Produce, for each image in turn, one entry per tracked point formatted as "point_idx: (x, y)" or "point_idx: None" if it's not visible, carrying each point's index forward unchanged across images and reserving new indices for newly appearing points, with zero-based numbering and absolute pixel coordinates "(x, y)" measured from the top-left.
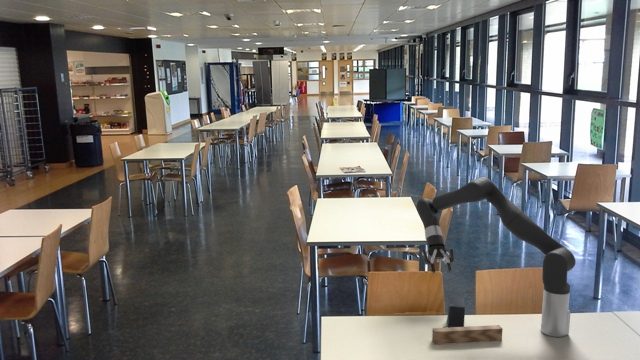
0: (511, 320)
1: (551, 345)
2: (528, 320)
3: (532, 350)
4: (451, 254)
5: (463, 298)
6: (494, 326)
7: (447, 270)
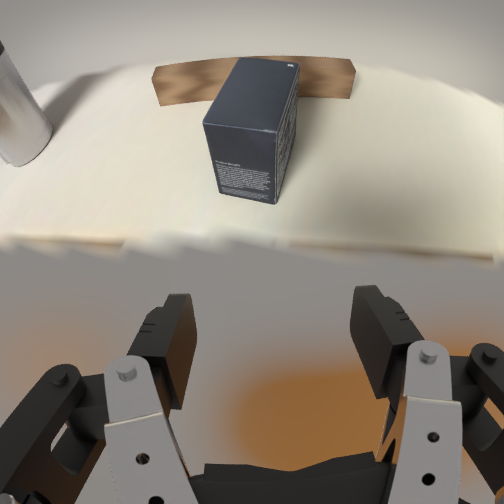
0: (63, 196)
1: (79, 94)
2: (28, 198)
3: (127, 74)
4: (10, 455)
5: (208, 111)
6: (169, 71)
7: (191, 339)
